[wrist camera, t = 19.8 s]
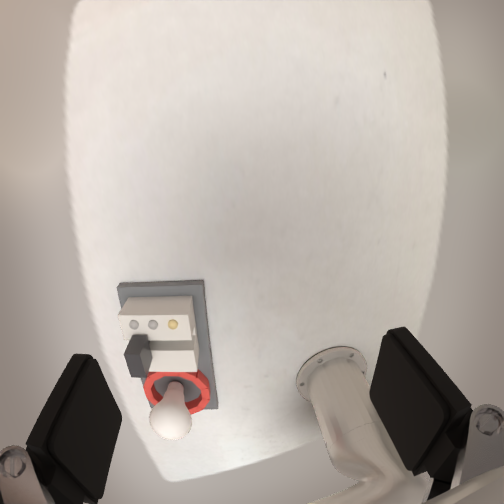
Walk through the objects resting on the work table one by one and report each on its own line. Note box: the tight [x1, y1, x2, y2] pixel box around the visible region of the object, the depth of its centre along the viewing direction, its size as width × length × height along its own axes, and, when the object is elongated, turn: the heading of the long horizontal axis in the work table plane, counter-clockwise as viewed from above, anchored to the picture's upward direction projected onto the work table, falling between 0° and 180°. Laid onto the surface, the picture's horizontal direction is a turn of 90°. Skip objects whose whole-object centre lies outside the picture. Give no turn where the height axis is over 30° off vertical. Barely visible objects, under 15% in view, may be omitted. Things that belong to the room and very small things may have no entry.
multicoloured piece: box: [117, 280, 218, 414], centre depth 40 cm, size 24×12×7 cm, turn 1°
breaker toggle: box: [124, 335, 153, 378], centre depth 35 cm, size 4×2×7 cm, turn 1°
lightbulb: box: [149, 381, 192, 440], centre depth 39 cm, size 6×6×11 cm
